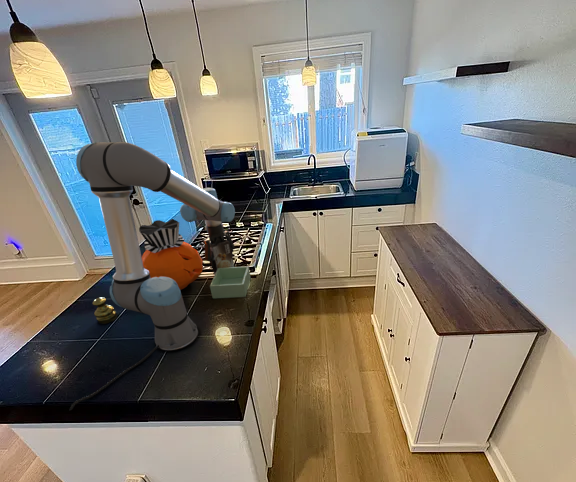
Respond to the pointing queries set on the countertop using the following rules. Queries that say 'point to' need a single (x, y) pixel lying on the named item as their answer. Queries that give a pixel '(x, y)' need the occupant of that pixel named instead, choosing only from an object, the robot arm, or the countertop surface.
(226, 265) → the coffee box
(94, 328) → the countertop surface
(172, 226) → the jack-o'-lantern
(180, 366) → the countertop surface
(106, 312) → the brass knobbed piece
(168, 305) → the robot arm
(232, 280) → the tote
